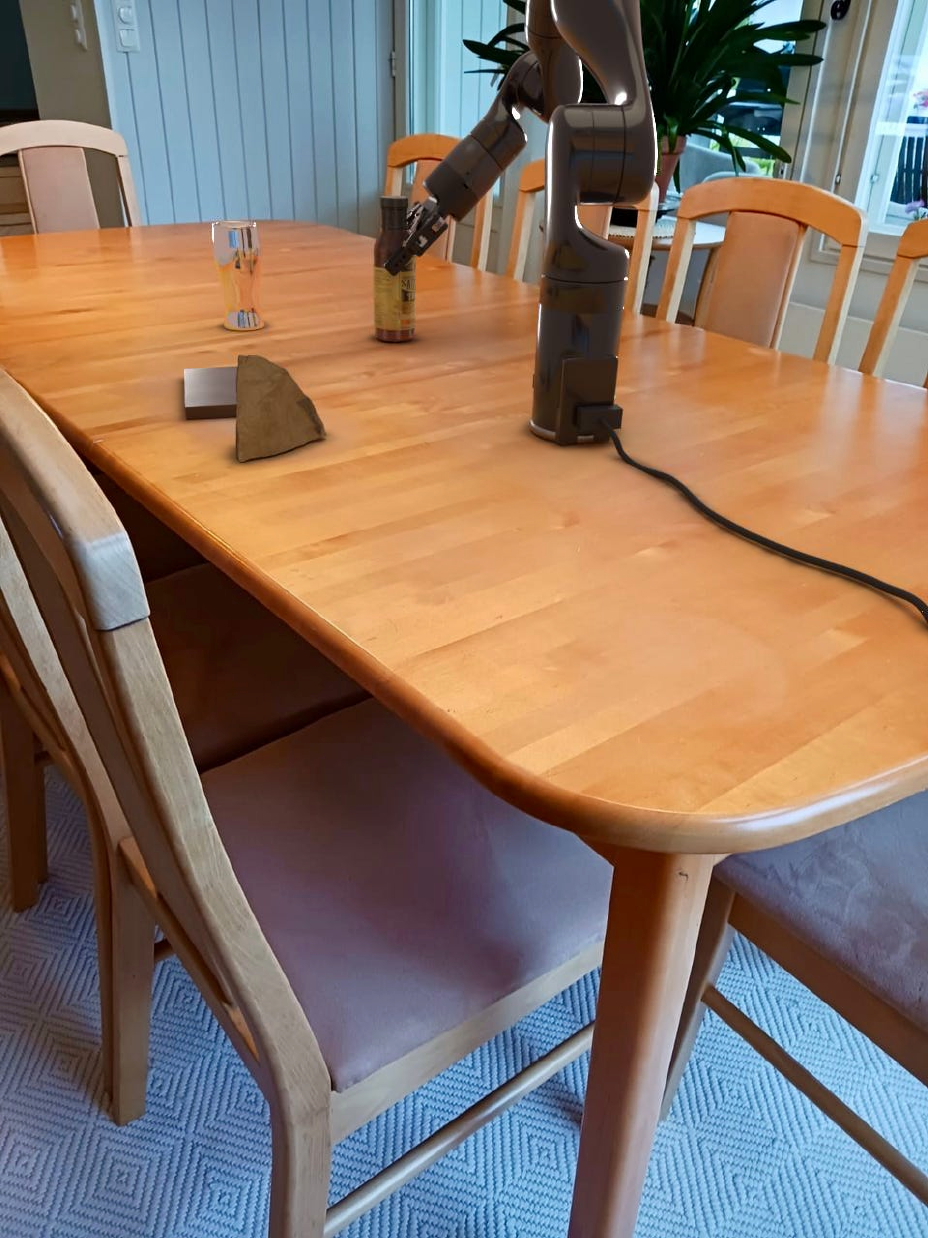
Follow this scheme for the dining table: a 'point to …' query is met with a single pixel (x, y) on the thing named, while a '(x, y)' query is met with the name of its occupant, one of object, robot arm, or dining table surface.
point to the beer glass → (239, 272)
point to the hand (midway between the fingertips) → (383, 266)
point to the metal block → (210, 392)
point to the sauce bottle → (393, 291)
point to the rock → (271, 410)
